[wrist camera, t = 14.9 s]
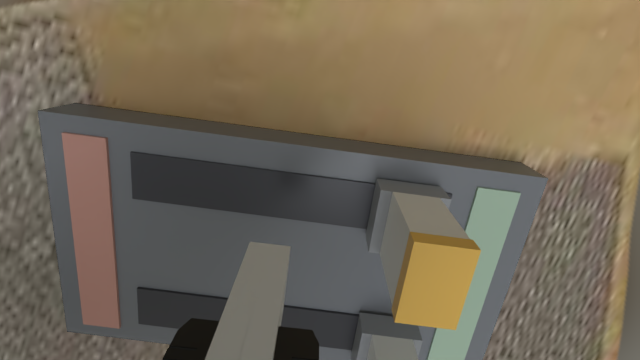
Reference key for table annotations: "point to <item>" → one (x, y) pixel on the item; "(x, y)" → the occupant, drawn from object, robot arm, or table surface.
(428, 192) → the handle
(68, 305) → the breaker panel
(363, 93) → the table surface
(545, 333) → the table surface
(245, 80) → the table surface
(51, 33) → the table surface
